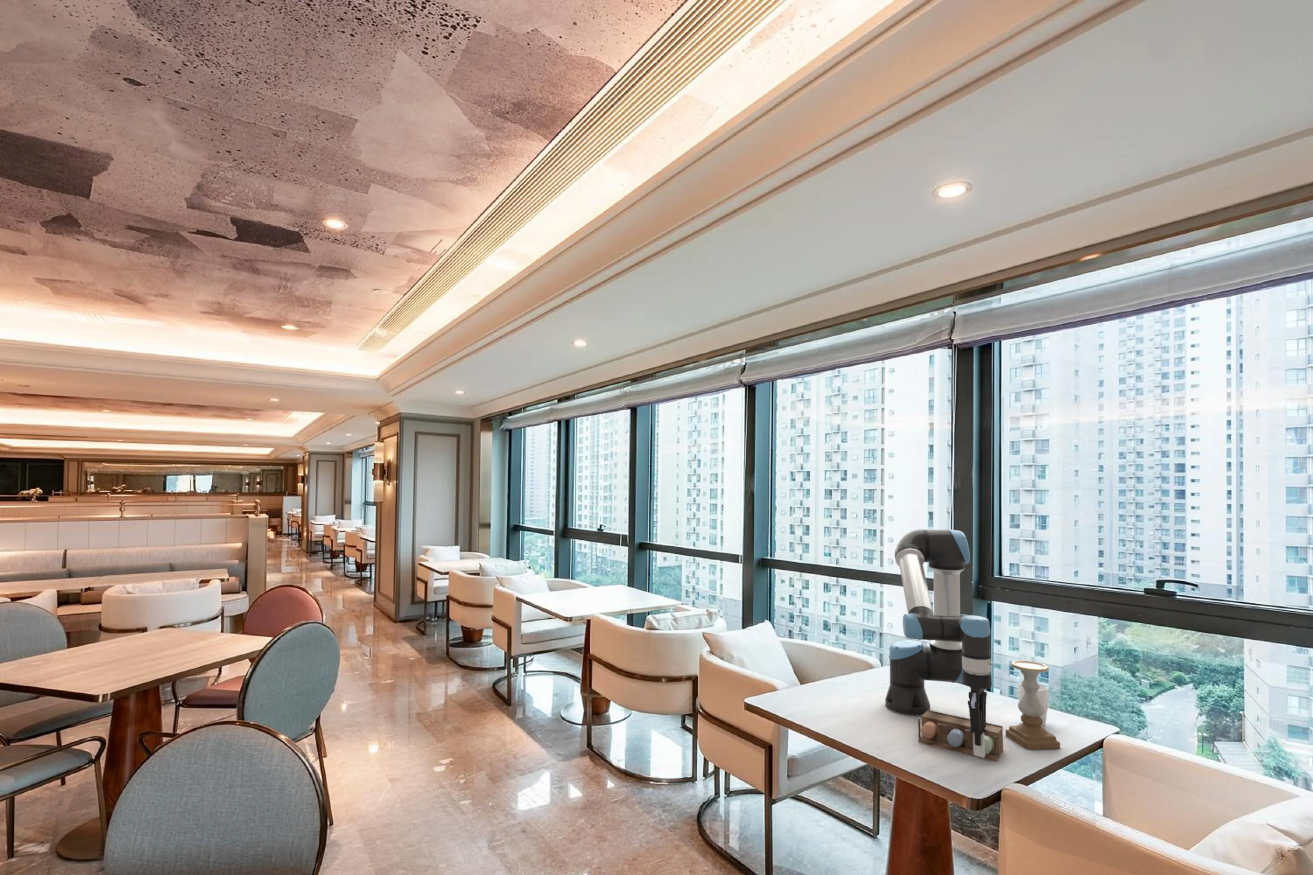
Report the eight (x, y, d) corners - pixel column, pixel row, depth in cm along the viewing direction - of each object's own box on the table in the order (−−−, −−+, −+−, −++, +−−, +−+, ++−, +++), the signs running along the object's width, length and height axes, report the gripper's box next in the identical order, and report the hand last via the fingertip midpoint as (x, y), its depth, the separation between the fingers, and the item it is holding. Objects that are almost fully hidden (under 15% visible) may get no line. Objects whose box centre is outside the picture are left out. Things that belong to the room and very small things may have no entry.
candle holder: (1004, 735, 204) (1002, 660, 206) (1037, 734, 205) (1034, 659, 207) (1027, 749, 193) (1024, 670, 195) (1061, 748, 194) (1058, 669, 196)
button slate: (947, 744, 191) (946, 731, 192) (950, 740, 194) (950, 727, 195) (961, 748, 189) (961, 734, 189) (964, 744, 192) (964, 730, 192)
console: (918, 742, 198) (917, 718, 199) (927, 732, 206) (926, 709, 207) (996, 761, 185) (995, 736, 185) (1003, 750, 193) (1002, 725, 193)
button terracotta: (920, 736, 197) (920, 723, 198) (924, 732, 200) (924, 719, 201) (934, 740, 195) (934, 726, 195) (937, 735, 198) (937, 722, 198)
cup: (1054, 728, 210) (1052, 691, 211) (1024, 726, 212) (1023, 689, 213) (1043, 718, 219) (1042, 683, 220) (1015, 716, 221) (1013, 681, 221)
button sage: (976, 751, 186) (975, 737, 187) (979, 747, 189) (978, 733, 190) (991, 755, 184) (990, 741, 184) (993, 751, 187) (993, 737, 187)
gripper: (986, 679, 175) (989, 767, 174) (995, 668, 186) (998, 751, 184) (957, 674, 180) (959, 759, 178) (967, 663, 190) (970, 744, 189)
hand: (979, 755), depth 181 cm, fingers closed
